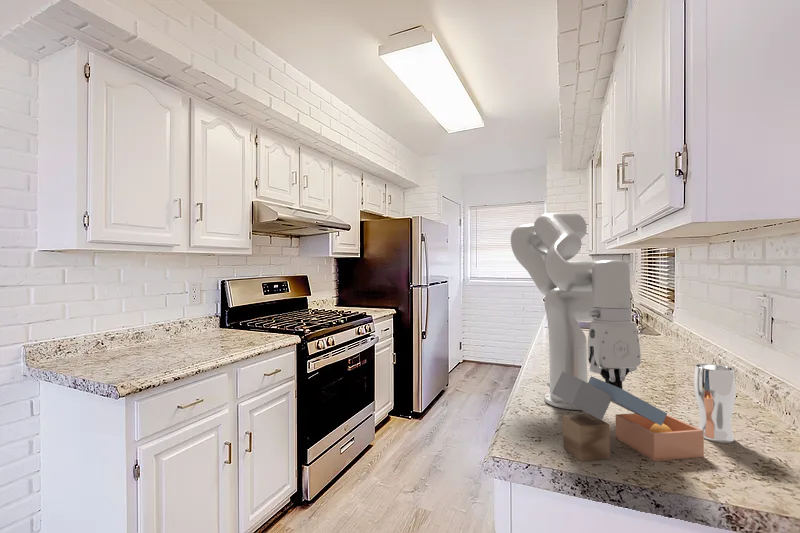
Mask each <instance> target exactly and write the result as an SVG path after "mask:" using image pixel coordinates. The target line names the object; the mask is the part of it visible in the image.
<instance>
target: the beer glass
mask: <svg viewBox="0 0 800 533" xmlns="http://www.w3.org/2000/svg"><path fill="white" fill-rule="evenodd" d="M693 376H694V377H693V382H694V384H693V386H694V387H693V388H694V394H695V401H696V404H697V408H698V412H699V425H698V428H699V429H701V430H703V436H704V439H705V440H706V441H707V440H708V441H711V442H715V443H720V444H721V443H722V444H723V443H724V444H729V443H733V442H735V435H734V433H733V432H734V431H733V427H732V417H733V412H734V408H735V401H736V391H737V390H736V378H735V368H733V367H731V366H727V365H723V364H717V363H704V362H703V363H702V362H701V363H695V365H694V375H693Z"/></svg>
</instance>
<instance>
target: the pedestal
mask: <svg viewBox="0 0 800 533" xmlns="http://www.w3.org/2000/svg"><path fill="white" fill-rule="evenodd" d="M562 430H563V431H562V433H563V435H562V436H563V439H562V440H563V441H562V442H563V448H564V449H565V450H566V451H567V452H568V453H570V454H571V455H572V456H573V457H575V458H576V459H577V460H579V461H580V462H591V461H602V460H603V461H604V460H610V459H611V438H610V435H611V434H610V423H608V422H607V421H605V420H603V419H602V420H600V419H598V418H596V417H594V416H592V415H590V414H588V413H587V412H585V413H575V414H563V415H562Z"/></svg>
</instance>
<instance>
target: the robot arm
mask: <svg viewBox="0 0 800 533" xmlns="http://www.w3.org/2000/svg"><path fill="white" fill-rule="evenodd" d="M586 234H587V223H586V220H585V218H584V217H583V216H582V215H581V214H579V213H577V212H550V213H549V212H547V213H543V214H542V215H539V216H538V217H537V218H536V219H535V221H534V223H528V224H527V223H526V224H521V225H518V226H517V227H515V228H514V229H513V230H512V232H511V234H510V245H511V246H510V247H511V251H512V253H513V255H514V257H515V258H516V260H517V261H518V263H519V264H520V265H521V266H522V267H523V268H524V270H525V271H527V273H528V274H529V276H530V277H531V279H532V281H533V282H534V284H535V286H536V287H537V289H538V290H539V292H541V293H540V294H542V295H544V296H545V297H544V301H543V303H544V311H545V313H546V314H545V315H546V319H547V326H548V347H549V348H548V352H549V353H548V355H549V357H548V359H549V362H548V363H549V381H547V383H546V386H547V387H549V392H548V393H545V394H544V396H543V397H544V398H543V400H544V402H545V403H546V404H547V405H550V406H553V407H555V408H559V409H564V410H572V411H582V410H581V409H579V408H577V407H575V406H573V405H571V404H570V403H568V402H566V401H564V400H563V399H561V398H559V397H557V396H556V395H554V394H552V392H553V390H554V388H555V386H556V384H557V382H558V379H559V377H560V375H561V373H562V371H563V372H565V373H567V374H570V375H572V376H574V377H576V378H579V379H581V380H583V381H585V382H587V383H588V382H589V380H588V363H589V364H590V365H589V371H590V372H592V373H595V374H600V376H601V377H602V379H604V382H606V383H609V384H611V385H614V386H616V387H618V388H621V389H623V382H624V381H626V376H627V375H629V373H632V372H635V371H637V369H638V367H640V366H641V362H642V358H641V344H640V340H639V339H640V338H639V334H638V329H637V325H636V323H635V321H632V308H631V307H632V304H631V303H632V302H631V299H632V298H631V275H630V274H631V273H630V272H631V271H630V268H631V267H630V265H629V263H628V262H627V261H625V260H620V259H619V260H618V259H617V260H614V259H613V260H610V259H609V260H608V259H607V260H571V259H572V258H575V256H576V255H577V254H578V253H579V252H580V250H581V249H582V239H583V238H585V235H586ZM543 250H544V251H543ZM545 250H547V252H545ZM578 322H590V324H589V330H588V336H587V337H588V338H587V337H586V334H585V333H584V331H583V329H582V328H581V327H580V325H579V323H578Z"/></svg>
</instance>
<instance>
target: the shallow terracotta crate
mask: <svg viewBox="0 0 800 533" xmlns="http://www.w3.org/2000/svg"><path fill="white" fill-rule="evenodd" d="M654 424H656V423H654V422H652V421H650V420H648V419H646V418H644V417H642V416H640V415H638V414H636V413H634V412H632V413H619V414H615V439H617V440H619V441H620V442H622V443H623V444H625V445H627V446H629V447H630V448H632V449H634V450H636V452H639V453H641V454H642V455H644V456H645V457H647V458H649V459H650V460H651V461H654V462H659V461H661V462H662V461H671V460H672V461H673V460H681V459H682V460H683V459H684V460H685V459H694V458H703V457H705V446H704V444H705V442H704V441H705V440H704V439H705V438H704V436H703V430H701V429H699V427H697V426H694V425H691V424H690V423H687V422H685V421H682V420H680V419H678V418H675V417H673V416H672V415H668V414H667V415H666V417H665V419H664V422H663V424H665V425H667V426H668V427H669V428H670V429H671V430H672V432H662V433H653V432H651V431H650V428H651V426H652V425H654Z"/></svg>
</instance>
